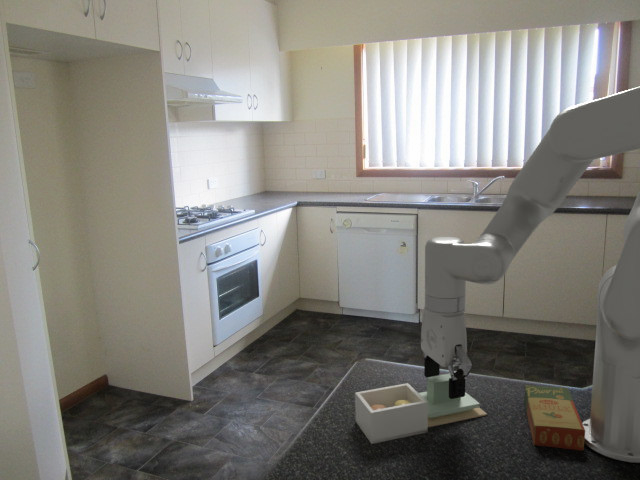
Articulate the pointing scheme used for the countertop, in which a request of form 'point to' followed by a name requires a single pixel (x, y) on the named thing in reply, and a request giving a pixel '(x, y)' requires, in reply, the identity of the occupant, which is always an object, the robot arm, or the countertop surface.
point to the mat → (456, 417)
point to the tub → (391, 413)
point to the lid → (445, 398)
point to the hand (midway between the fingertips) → (443, 386)
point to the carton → (553, 417)
